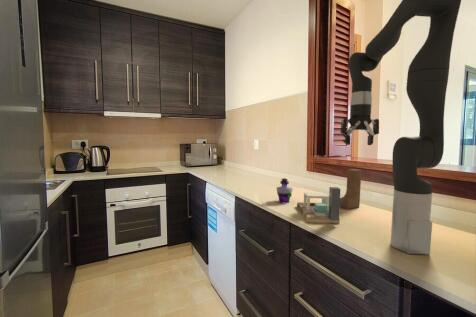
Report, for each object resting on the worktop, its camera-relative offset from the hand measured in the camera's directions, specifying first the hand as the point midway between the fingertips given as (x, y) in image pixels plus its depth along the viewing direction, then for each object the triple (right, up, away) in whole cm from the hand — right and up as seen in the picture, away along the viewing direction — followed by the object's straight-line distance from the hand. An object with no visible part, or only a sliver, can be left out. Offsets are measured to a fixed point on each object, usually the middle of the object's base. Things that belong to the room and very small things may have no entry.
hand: (358, 144), depth 100 cm
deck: (-15, -30, +7) cm, 34 cm away
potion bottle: (-25, -28, +28) cm, 47 cm away
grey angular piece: (-15, -28, -3) cm, 32 cm away
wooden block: (+4, -29, +18) cm, 34 cm away
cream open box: (-15, -27, +7) cm, 32 cm away
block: (-15, -28, 0) cm, 32 cm away
